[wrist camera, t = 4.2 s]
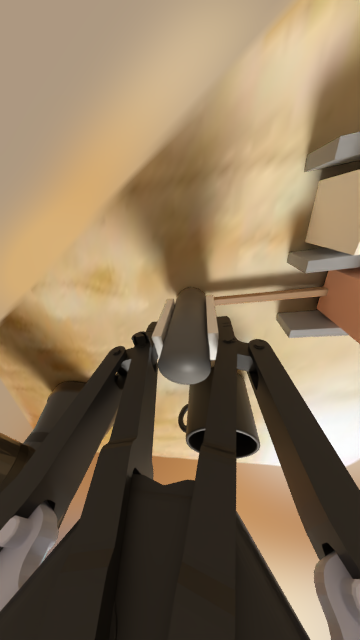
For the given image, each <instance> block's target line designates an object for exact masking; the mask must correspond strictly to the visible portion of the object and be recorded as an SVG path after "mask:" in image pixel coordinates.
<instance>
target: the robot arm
mask: <svg viewBox="0 0 360 640" xmlns="http://www.w3.org/2000/svg"><path fill="white" fill-rule="evenodd" d="M174 307H175V304H174V299H167V300H166V303H165V305H164V308H163V310H162V312H161V315H160V317H159V320H158V322H152V323H151V324H150V325H149V326H148V328H147V330H146V332H138V333H136V334H134V335H133V336H132V340H133V343H134V345H135V347H134V348H131V349H127V350H126V349H125V348H124V347H123V346H118V347H115V348H114V349H112V350H111V351H110V352H109V353H108V355H107V356H106V357H105V359H104V360H103V361H102V363H101V364H100V365H99V367H98V368H97V369H96V371H95V372H94V373H93V375H92V376H91V378H90V379H89V380H88V382H87V383H81V382H64V383H61V384H59V385H58V386H57V387H56V388H55V389H54V390H53V392H52V393H51V394H50V395H49V397H48V400H47V404H46V406H45V408H44V410H43V412H42V414H41V416H40V418H39V420H38V422H37V424H36V426H35V428H34V430H33V431H32V432H31V434H30V435H29V436H28V438H27V439H26V440H25V442H24V443H23V444H22V443H20V442H18V441H16V440H14V439H12V438H10V437H8V436H6V435H4V434H2V433H0V640H310V638H309V637H308V635H307V633H306V631H305V630H304V628H303V626H302V625H301V623H300V621H299V619H298V617H297V616H296V614H295V612H294V610H293V609H292V607H291V605H290V603H289V602H288V600H287V598H286V596H285V595H284V593H283V591H282V589H281V588H280V586H279V584H278V582H277V581H276V579H275V577H274V575H273V574H272V572H271V570H270V569H269V567H268V565H267V563H266V562H265V560H264V558H263V556H262V555H261V553H260V551H259V550H258V548H257V546H256V544H255V542H254V541H253V539H252V537H251V535H250V534H249V532H248V530H247V528H246V527H245V525H244V523H243V521H242V520H241V518H240V516H239V515H238V513H237V511H236V415H237V369H240V370H244V371H247V374H248V376H249V379H250V382H251V385H252V387H253V390H254V393H255V396H256V398H257V401H258V404H259V407H260V409H261V412H262V415H263V418H264V420H265V423H266V426H267V429H268V431H269V434H270V437H271V440H272V442H273V445H274V448H275V451H276V453H277V456H278V459H279V462H280V464H281V467H282V470H283V472H284V475H285V478H286V481H287V483H288V486H289V489H290V492H291V495H292V497H293V500H294V503H295V505H296V508H297V511H298V513H299V516H300V518H301V521H302V523H303V526H304V528H305V531H306V533H307V535H308V537H309V539H310V541H311V543H312V545H313V548H314V549H315V552H316V554H317V556H318V558H319V559H320V561H319V562H318V563H317V564H316V567H315V570H314V583H315V587H316V592H317V595H318V598H319V601H320V603H321V606H322V609H323V612H324V614H325V617H326V619H327V622H328V626H329V631H330V635H331V640H360V490H359V489H358V487H357V485H356V484H355V482H354V480H353V479H352V477H351V476H350V474H349V472H348V471H347V470H346V468H345V466H344V464H343V463H342V461H341V459H340V458H339V456H338V455H337V453H336V451H335V450H334V448H333V446H332V445H331V443H330V442H329V440H328V438H327V437H326V435H325V434H324V432H323V430H322V429H321V427H320V425H319V424H318V422H317V421H316V419H315V417H314V416H313V414H312V413H311V411H310V409H309V408H308V406H307V404H306V403H305V401H304V400H303V398H302V396H301V395H300V393H299V392H298V390H297V388H296V387H295V385H294V383H293V382H292V380H291V379H290V377H289V375H288V374H287V372H286V371H285V369H284V367H283V366H282V364H281V362H280V361H279V359H278V358H277V356H276V354H275V353H274V351H273V349H272V348H271V346H270V345H269V344H268V343H267V342H266V341H264V340H260V339H255V340H252V341H250V342H249V343H244V342H240V341H238V340H237V339H236V338H235V336H234V332H233V328H232V325H231V321H230V319H229V318H228V317H227V316H222V317H216V312H215V304H214V297H213V295H206V308H207V328H208V342H209V347H210V360H216V361H215V367H214V374H213V381H212V387H211V394H210V401H209V407H208V414H207V420H206V427H205V434H204V440H203V444H202V445H201V448H200V453H199V459H198V465H197V471H196V478H195V481H194V480H184V481H180V482H177V483H172V484H168V485H162V484H160V483H158V482H156V481H154V480H153V466H152V447H153V432H154V418H155V403H156V388H157V373H158V363H157V359H158V358H160V354H161V351H162V347H163V344H164V341H165V337H166V334H167V330H168V327H169V324H170V320H171V317H172V313H173V310H174ZM116 372H117V374H116ZM115 374H116V375H115ZM113 425H114V426H113ZM112 426H113V430H112V434H111V437H110V440H109V442H108V444H106V445H104V446H103V448H102V449H101V451H100V454H99V457H98V460H97V464H96V467H95V470H94V474H93V477H92V481H91V484H90V487H89V491H88V494H87V498H86V501H85V504H84V508H83V511H82V515H81V518H80V519H79V520H78V522H77V523H76V524H75V525H74V526H73V527H72V529H71V530H70V531H69V532H68V533H67V534H66V535H65V537H64V538H63V539H62V540H61V541H60V542H59V544H58V545H57V546H56V547H55V548H54V549H53V551H52V552H51V553H50V554H49V555H48V556H47V558H46V559H45V560H44V558H45V556H46V554H47V552H48V550H50V549H51V548H52V547H53V545H54V544H55V542H56V540H57V538H58V533H59V531H58V530H59V527H60V525H61V523H62V521H63V518H64V516H65V514H66V512H67V510H68V507H69V505H70V503H71V501H72V499H73V497H74V495H75V493H76V491H77V490H78V488H79V485H80V484H81V482H82V480H83V478H84V475H85V474H86V472H87V470H88V468H89V466H90V464H91V461H92V459H93V457H94V455H95V453H96V451H97V449H98V447H99V445H100V443H101V441H102V439H103V438H104V437H105V435H106V434H107V433H108V431H109V430H110V429H111V427H112ZM43 560H44V561H43Z"/></svg>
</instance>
